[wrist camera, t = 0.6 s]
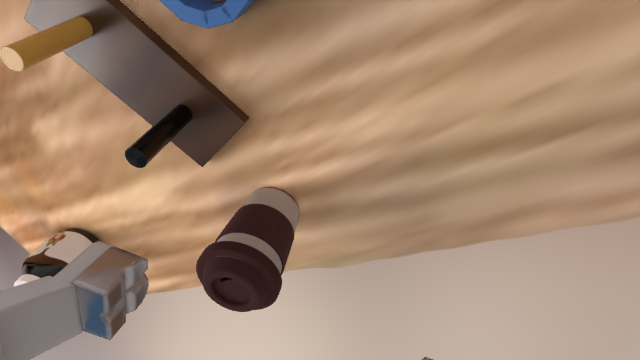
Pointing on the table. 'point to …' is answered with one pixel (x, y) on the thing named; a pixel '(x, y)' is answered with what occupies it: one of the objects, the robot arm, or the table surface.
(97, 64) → the peg rack
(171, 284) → the table surface
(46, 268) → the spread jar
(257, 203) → the coffee cup
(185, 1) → the tape roll
